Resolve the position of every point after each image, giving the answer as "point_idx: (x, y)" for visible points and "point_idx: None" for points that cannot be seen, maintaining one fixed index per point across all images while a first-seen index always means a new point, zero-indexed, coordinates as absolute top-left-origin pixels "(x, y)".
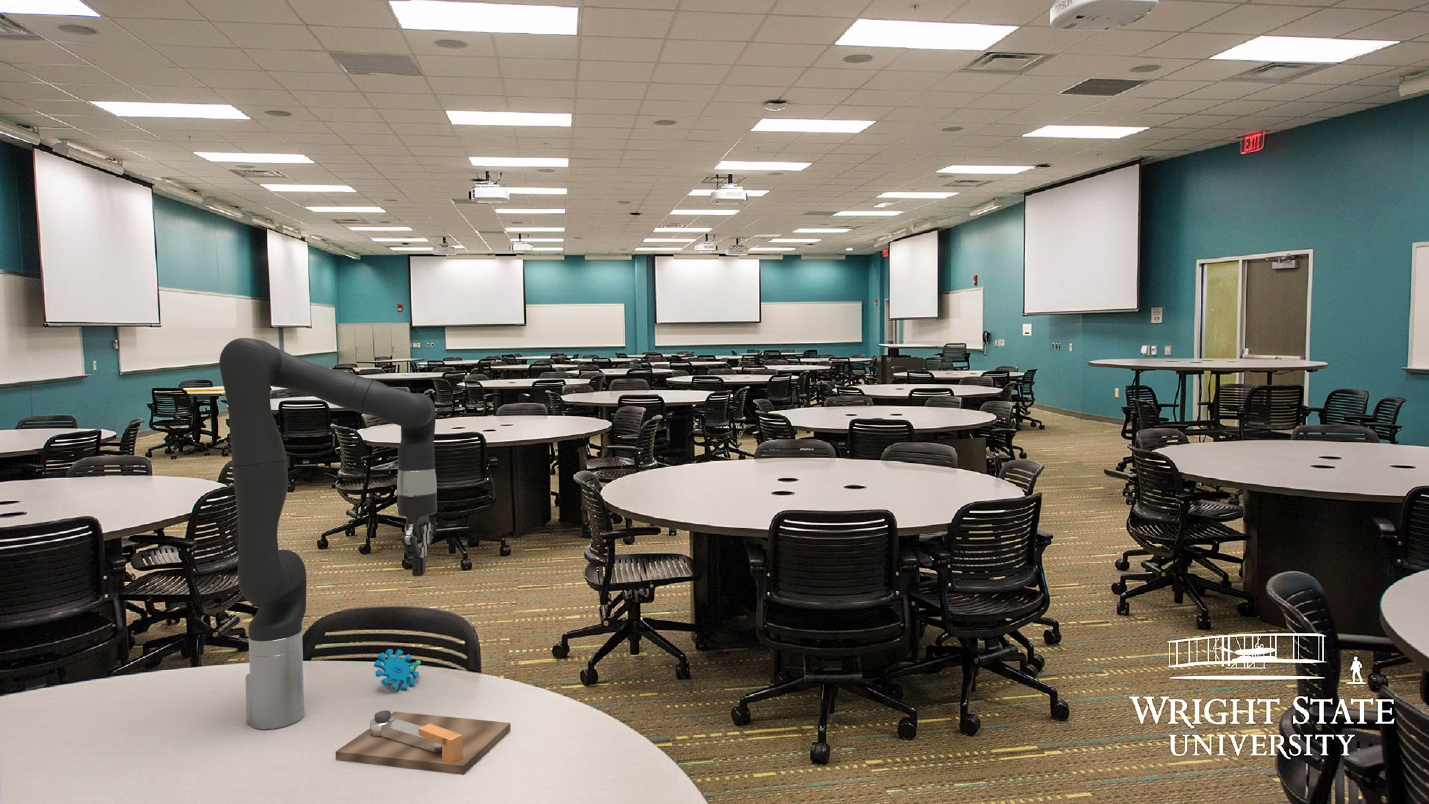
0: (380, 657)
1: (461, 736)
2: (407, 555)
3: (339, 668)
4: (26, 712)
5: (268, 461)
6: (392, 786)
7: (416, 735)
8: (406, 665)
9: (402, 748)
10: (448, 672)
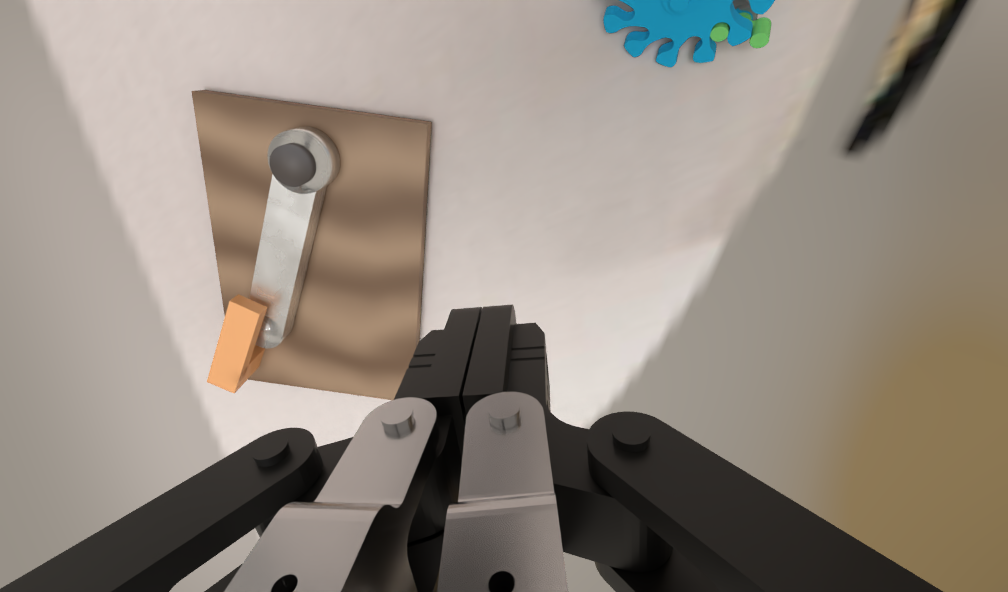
0: None
1: (233, 391)
2: (240, 458)
3: None
4: None
5: None
6: (164, 269)
7: (253, 280)
8: (715, 14)
9: (255, 242)
10: (775, 125)
